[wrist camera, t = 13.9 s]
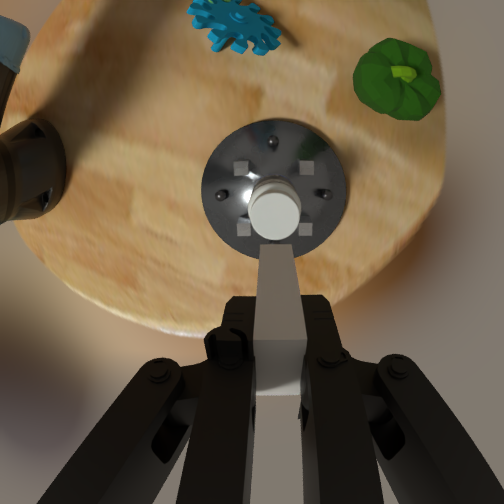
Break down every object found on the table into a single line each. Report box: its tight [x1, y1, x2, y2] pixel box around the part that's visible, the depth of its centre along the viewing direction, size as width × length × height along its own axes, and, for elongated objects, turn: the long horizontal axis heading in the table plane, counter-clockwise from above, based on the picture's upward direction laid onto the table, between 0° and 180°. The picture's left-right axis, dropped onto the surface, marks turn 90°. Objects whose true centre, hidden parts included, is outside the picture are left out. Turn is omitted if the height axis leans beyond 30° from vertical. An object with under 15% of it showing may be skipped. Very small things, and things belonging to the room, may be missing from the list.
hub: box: [201, 121, 346, 259], centre depth 28 cm, size 16×16×3 cm
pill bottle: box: [248, 174, 301, 240], centre depth 25 cm, size 5×5×8 cm
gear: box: [186, 0, 281, 56], centre depth 20 cm, size 11×6×10 cm
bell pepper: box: [353, 38, 441, 121], centre depth 19 cm, size 8×8×10 cm
